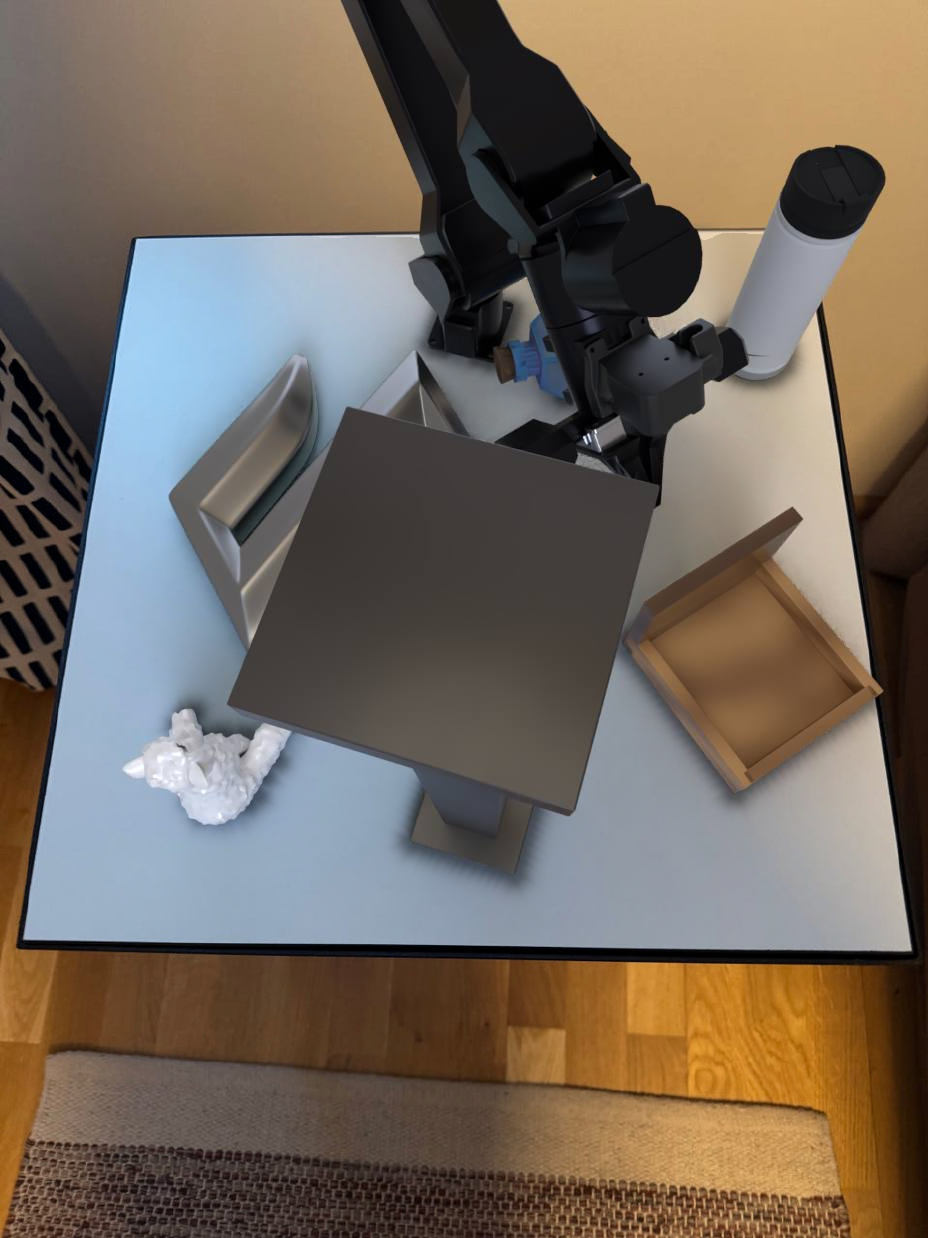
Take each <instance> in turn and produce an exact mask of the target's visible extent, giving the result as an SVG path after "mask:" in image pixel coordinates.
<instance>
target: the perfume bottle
mask: <svg viewBox="0 0 928 1238" xmlns="http://www.w3.org/2000/svg"><path fill="white" fill-rule="evenodd" d="M547 335H548V333H547V330H546V328H545V325H544V322H543V320H542V317H541V314H540V313H539V314H538V315H537V316H536V317H535V318H534V319H533V320H532V321H530V323H529V334H528V340H526V341H522V342H521V340H520V339H513V340H510V341H507V342H506V346H501V347H494V348H493V356H492V357H494V362H493V363H494V367H495V373H496V376H497V379H498V382H499V384H500V385H504V384H506V383H508V382H511V381H512V380H513V382H514V383H515V384H517V383H521V382H527V380H528V377H532V376H533V377H534V376H535V377H536V381H537V384H538V387H539V391H541V392H545V393H547V394H550V395H553V396H554V397H555V396H556V397H558V398H561V399H564V400H565V398H564V396H563V393H562V391H564V390H566V389H567V388H568V387H567V384H566V381H565V379H564V376H563V373H562V371H561V368H560V365H559V362H558V360H557V357H556V354H555V353H553V352H547V351H546V348H545V345H544V343H543V340H542V338H543V337H545V336H547Z"/></svg>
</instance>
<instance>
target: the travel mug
mask: <svg viewBox="0 0 928 1238" xmlns="http://www.w3.org/2000/svg"><path fill="white" fill-rule="evenodd" d="M886 180H887V178H886V172H885V170H884V167H883V165H882V164H881V162H879V160H878V159H877V158H876V157H875V156H873V155H872V154H871V153H869V152H867V151H865V150H863V149H861V148H858V147H856V146H852V145H849V144H834V146H821V147H817V148H816V147H815V148H813V149H807V150H806V151H804V152H801V153H799V155H797V157H796V158H795V159H794V161H793V163H792V165H791V167H790V170H789V173H788V175H787V177H786V180H785V183H784V184H783V187H782V188H781V190H780V193H779V194H778V197H777V200H776V202H775V204H774V207H773V210H772V211H771V214H770V216H769V219H768V221H767V224H766V227H765V228H764V232H763V234H762V236H761V239H760V241H759V244H758V246H757V248H756V251H755V254H754V255H753V258H752V260H751V263H750V266H749V268H748V270H747V273H746V275H745V277H744V280H743V283H742V285H741V287H740V289H739V292H738V295H737V297H736V299H735V302H734V304H733V306H732V309H731V312H730V314H729V317H728V319H727V321H726V324H725V326H724V327H731V328H732V329H734V330H736V331H737V332H738V333H739V334H740V335H741V336H742V338H743V339H744V341H745V345H746V349H747V353H748V357H749V364H748V365H747V366H745V367H744V368H742V369H740V370H739V371H737V372H736V373H734V374H733V375H735V376H737V377H740V378H742V379H745V380H750V381H763V380H767V379H771V378H774V377H775V376H778V375H779V374H781V372H783V370H784V369H785V368H786V367H787V365H788V363H789V361H790V359H791V358H792V356H793V354H794V353H795V350H796V349H797V347H798V345H799V343H800V341H801V339H802V338H803V336H804V334H805V333H806V331H807V329H808V327H809V325H810V323H811V322H812V320H813V318H814V316H815V314H816V312H817V311H818V309H819V307H820V306H821V304H822V302H823V300H824V298H825V296H826V294H827V292H828V291H829V289H830V288H831V285H832V283H833V282H834V280H835V278H836V276H837V275H838V272H839V271H840V270H841V268H842V266H843V264H844V261H845V260H846V258H847V257H848V255H849V253H850V252H851V250H852V247H853V246H854V244H855V242H856V240H857V238H858V237H859V235H860V233H861V231H862V229H863V228H864V226H865V224H866V222H867V220H868V218H869V215H870V213H871V212H872V210H873V209H874V206H875V205H876V203H877V201H878V199H879V197H880V195H881V193H882V192H883V190H884V188H885V186H886V182H887V181H886Z"/></svg>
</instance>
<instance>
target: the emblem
mask: <svg viewBox="0 0 928 1238" xmlns="http://www.w3.org/2000/svg"><path fill="white" fill-rule="evenodd" d="M318 406H319V405H318V398H317V391H316V385H315V380H314V375H313V372H312V367H311V365H310V362H309V359H308V357H307V356H305V355H302V354H300V353H295V354H293V355H292V356H291V357H290V358H289V359H288V360H287V361H286V362H285V364H283V366H282V367H281V368H280V370H278V371H277V373H276V374H275V376H273V378H272V379H271V380H270V381H269V383H267V385H266V386H265V387H264V388H263V389H262V390H261V391H260V392H259V393H258V394H257V396H255V398H254V399H253V400H252V401H251V402H250V403H249V404H248V405H247V406H246V407H245V408H244V409H243V410H242V411H241V413H240V414H239V415H238V416H237V417H236V418H235V419H234V420H233V421H232V422H231V424H230V425H229V426H228V427H227V428H226V429H225V430H224V431H223V432H222V433H221V435H219V437H218V438H217V439H216V440H215V441H214V442H213V443H212V445H211V446H210V447H208V449H207V450H206V451H205V452H204V453H203V455H201V457H200V458H199V459H198V460H197V461H196V462H195V463H194V465H192V467H191V468H190V469H189V470H188V471H187V472H186V473H185V474H184V475H183V477H182V478H181V479H180V480H179V481H178V482H177V483H176V484H175V485H174V486H173V487H172V489H171V490H170V491H169V494H168V501H169V504H170V506H171V508H172V510H173V512H174V514H175V516H176V519H177V520H178V522H179V524H180V526H181V528H182V530H183V532H184V534H185V536H186V538H187V540H188V542H189V543H190V546H191V547H192V550H193V551H194V553H195V555H196V557H197V560H198V561H199V563H200V566H201V567H202V569H203V571H204V572H205V575H206V576H207V578H208V581H209V582H210V585H211V586H212V588H213V590H214V592H215V594H216V596H217V598H218V600H219V602H220V604H221V606H222V608H223V610H224V611H225V613H226V616H227V617H228V619H229V622H230V624H231V625H232V627H233V629H234V631H235V632H236V635H237V636H238V639H239V640H240V642H241V644H242V647H243V648H244V649H245V651H246V653H247V652H248V650H249V647H250V645H251V642H252V640H253V637H254V635H255V632H256V630H257V627H258V625H259V622H260V620H261V617H262V615H263V612H264V610H265V608H266V605H267V603H268V600H269V598H270V595H271V593H272V590H273V588H274V585H275V583H276V580H277V578H278V575H279V573H280V570H281V568H282V565H283V563H284V560H285V558H286V555H287V553H288V550H289V548H290V546H291V543H292V541H293V538H294V536H295V533H296V531H297V528H298V526H299V523H300V521H301V518H302V516H303V513H304V511H305V508H306V506H307V503H308V501H309V498H310V496H311V493H312V491H313V489H314V486H315V484H316V481H317V479H318V476H319V474H320V471H321V469H322V466H323V464H324V461H325V459H326V456H327V454H328V451H329V449H330V446H331V444H332V441H333V439H334V436H333V437H332V438H331V440H330V441H329V442H328V443H327V444H326V445H325V447H324V448H323V449H322V450H321V451H320V452H319V453H318V454H317V456H316V457H315V458H314V459H313V460H312V461H311V462H310V463H309V465H308V466H307V467H306V468H305V469H304V470H303V472H302V473H301V474H299V473H300V471H301V470H302V469H303V467H304V466H305V464H306V462H307V461H308V459H309V457H310V455H311V453H312V452H313V451H312V450H313V448H314V445H315V442H316V439H317V438H316V437H317V433H318V426H319V407H318ZM358 409H361V410H365V411H369V412H373V413H377V414H380V415H384V416H388V417H392V418H396V419H400V420H404V421H408V422H412V423H416V424H420V425H424V426H428V427H432V428H435V429H439V430H443V431H447V432H451V433H455V434H459V435H463V436H467V437H471V438H472V436H471V435H470V433H469V431H468V430H467V428H466V427H465V425H464V424H463V422H462V420H461V419H460V417H459V415H458V414H457V412H456V411H455V409H454V408H453V405H452V404H451V403H450V401H449V399H448V398H447V396H446V394H445V393H444V391H443V389H442V388H441V386H440V385H439V383H438V382H437V380H436V378H435V376H434V375H433V373H432V372H431V370H430V368H429V367H428V365H427V364H426V362H425V360H424V359H423V358H422V355H420V353H419V352H418V350H417V349H413V350H411V351H410V352H409V353H408V354H407V355H406V356H405V357H404V359H403V360H401V362H400V363H399V364H398V365H397V366H396V367H395V368H394V370H393V371H392V372H390V373H389V375H388V376H387V377H386V378H385V380H384V381H383V382H382V383H380V385H379V386H378V387H377V389H375V391H374V392H373V393H372V394H371V395H370V396H369V397H368V398H367V400H365V402H364V403H363V404H362V405H361V406H360V407H359V408H358ZM298 474H299V476H298ZM297 476H298V477H297ZM296 477H297V478H296ZM295 478H296V480H295ZM294 480H295V481H294ZM293 481H294V482H293ZM292 482H293V483H292ZM289 486H290V487H289ZM288 487H289V488H288ZM283 493H284V494H283Z"/></svg>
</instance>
